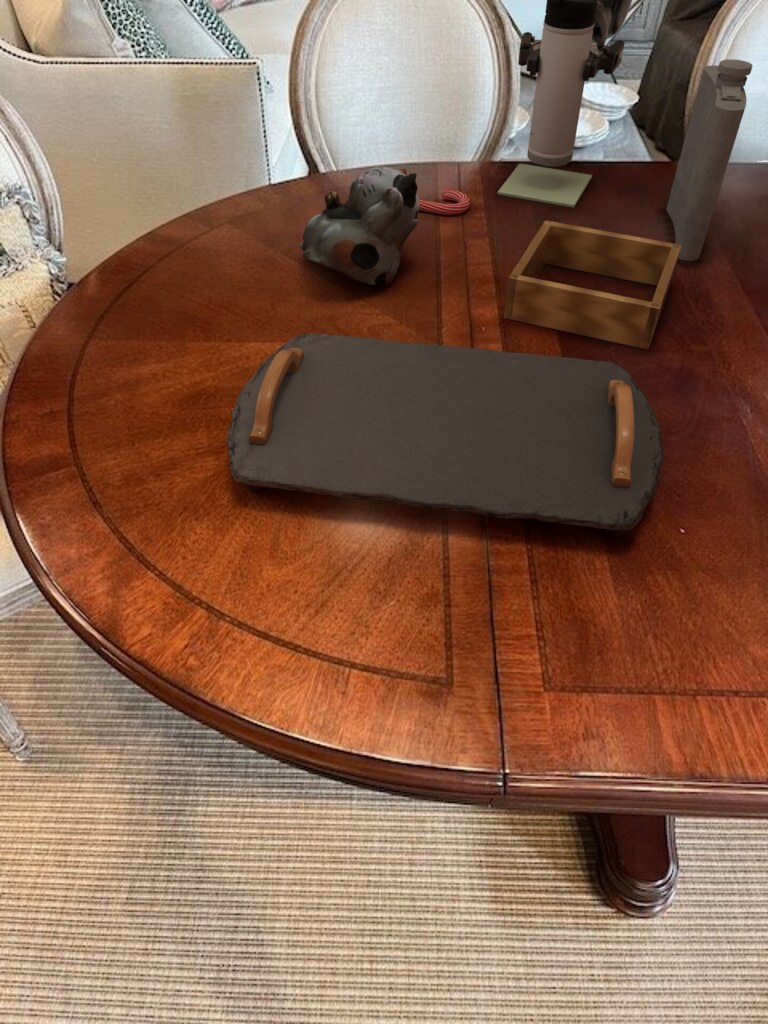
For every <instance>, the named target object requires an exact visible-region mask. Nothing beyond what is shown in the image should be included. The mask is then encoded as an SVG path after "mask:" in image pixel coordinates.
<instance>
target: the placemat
mask: <svg viewBox="0 0 768 1024" xmlns="http://www.w3.org/2000/svg"><path fill="white" fill-rule="evenodd" d="M592 178H593V175H592V174H588V173H580V172H575V171H570V170H563V169H558V168H557V169H556V168H552V167H551V168H550V167H546V166H540V165H539V166H538V165H532V164H525V163H519V164H517V166H516V167H515V168H514V170H513V171H512V172H511V174H510V175H509V176H508V178H507V179H506V180H505V182H504V183H503V184H502V186H501V187H500V188H499V189H498V191H497V194H496V195H497V196H504V197H510V198H516V199H520V200H521V199H522V200H525V201H526V200H527V201H533V202H538V203H545V204H549V205H556V206H561V207H568V208H575V207H576V205H577V203H578V202H579V200H580V198H581V196H582V195H583V193H584V192H585V190H586V188H587V187H588V185H589V183H590V181H591V180H592Z"/></svg>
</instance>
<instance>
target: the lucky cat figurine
mask: <svg viewBox="0 0 768 1024" xmlns="http://www.w3.org/2000/svg"><path fill="white" fill-rule="evenodd" d="M417 175H418V174H417V172H412V173H409V174H407V169H406V168H404V167H403V168H400V169H395V168H393V167H388V166H383V167H378V166H374V167H371V168H370V169H369V170H367V171H366V172H365V173H363V174H360V175H359V176H357V177H355V178H354V179H353V181H352V182H351V184H350V188H349V194H348V200H346V201H345V203H344V204H343V203H341V200H340V196H339V194H338V193H337V192H336V191H333V190H329V192H328V193H327V194H325V196H324V202H325V209H323V210H322V212H321V213H319V214H316V215H314V216H312V218H311V219H310V220H309V221H308V222H307V224H306V225H305V228H304V231H303V235H302V242H300V243H299V245H298V248H299V249H300V250H302V252H303V253H302V256H303V257H305V258H306V259H307V260H308V261H311V262H313V263H315V264H317V265H319V266H323V267H325V268H328V269H331V270H334V271H337V272H340V273H342V274H344V275H346V276H347V277H349V278H350V279H353V280H355V281H357V282H359V283H363V284H367V285H372V286H376V285H379V286H380V287H381V288H382V287H388V285H390V284H391V283H392V282H394V279H395V277H396V275H397V272H398V270H399V268H400V263H401V253H402V248H403V246H404V244H405V242H406V241H407V240H408V238H409V237H410V235H411V234H412V233H413V232H414V230H415V229H416V228H417V227H418V224H419V220H420V219H419V218H418V214H419V211H420V210H419V209H420V205H419V203H420V200H421V199H420V198H419V195H418V193H417V192H418V184H417V182H416V180H417Z"/></svg>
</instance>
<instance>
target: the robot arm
mask: <svg viewBox="0 0 768 1024" xmlns="http://www.w3.org/2000/svg"><path fill="white" fill-rule="evenodd" d="M632 2H633V0H597V7H596V14H595V16H594V17H595V20H594V28H593V35H592V41H591V47H590V53H589V57H588V59H587V61H586V64H585V69H584V76H583V81H585V82H589V81H590V79H594V78H596V76H597V75H598V74H599V71H603V72H602V73H604V74H605V75H612V74H613V73H614V72H615V71H616V70H617V68H618V67H619V65H620V64H621V63H622V58H623V54H624V48H625V45H626V43H625V40H621V39H618V40H616V41H615V42H610V44H609V45H605V44H606V42H607V40H609V39H611V38H613V37H614V36H615V35H616V34H618V32H619V31H620V30H621V28H622V27H623V25H624V24H625V21H626V19H627V16H628V14H629V11H630V8H631V6H632ZM541 40H542V39H536V35H533V33H532V32H529V31H526V32H523V34H522V37H521V40H520V44H519V52H518V61H517V62H518V63H517V64H518V65H519V66H521V67H524V66H525V67H526V68H525V71H526V72H529V76H531V77H537V73H538V64H539V56H540V48H541Z"/></svg>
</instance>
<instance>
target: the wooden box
mask: <svg viewBox="0 0 768 1024" xmlns="http://www.w3.org/2000/svg"><path fill="white" fill-rule="evenodd" d="M681 246H682V245H679V244H675V243H673V242H667V241H663V240H656V239H650V238H645V237H640V236H634V235H628V234H623V233H618V232H613V231H607V230H601V229H597V228H596V229H595V228H591V227H584V226H578V225H573V224H568V223H562V222H556V221H551V220H544V221H543V223H542V224H541V226H540V228H539V229H538V231H537V232H536V234H535V235H534V237H533V238H532V240H531V242H530V243H529V245H528V247H527V248H526V250H525V252H524V253H523V255H522V256H521V258H520V259H519V261H518V263H517V264H516V266H515V267H514V269H513V270H512V272H511V273H510V275H509V276H508V281H507V287H506V297H505V306H504V314H503V318H504V319H506V320H510V321H516V322H520V323H525V324H530V325H534V326H539V327H542V328H547V329H550V330H551V329H552V330H556V331H561V332H565V333H571V334H575V335H579V336H584V337H588V338H592V339H597V340H602V341H607V342H611V343H616V344H620V345H625V346H629V347H633V348H639V349H642V350H649V349H650V346H651V344H652V343H651V342H652V340H653V338H654V335H655V332H656V328H657V325H658V323H659V319H660V317H661V313H662V311H663V308H664V305H665V301H666V299H667V297H668V294H669V290H670V288H671V284H672V281H673V277H674V274H675V271H676V267H677V263H678V260H679V259H678V257H679V253H680V250H681ZM545 265H550V266H554V267H559V268H564V269H569V270H574V271H580V272H585V273H591V274H595V275H601V276H604V277H605V276H606V277H611V278H616V279H621V280H624V281H625V280H626V281H631V282H636V283H640V284H647V285H651V286H656V289H655V291H654V294H653V297H652V300H651V301H648V300H644V299H638V298H633V297H629V296H625V295H618V294H614V293H609V292H604V291H600V290H594V289H589V288H584V287H580V286H574V285H569V284H566V283H565V284H564V283H559V282H554V281H550V280H546V279H545V280H544V279H540V278H538V276H539V275H540V273H541V272H542V270H543V268H544V266H545Z"/></svg>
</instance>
